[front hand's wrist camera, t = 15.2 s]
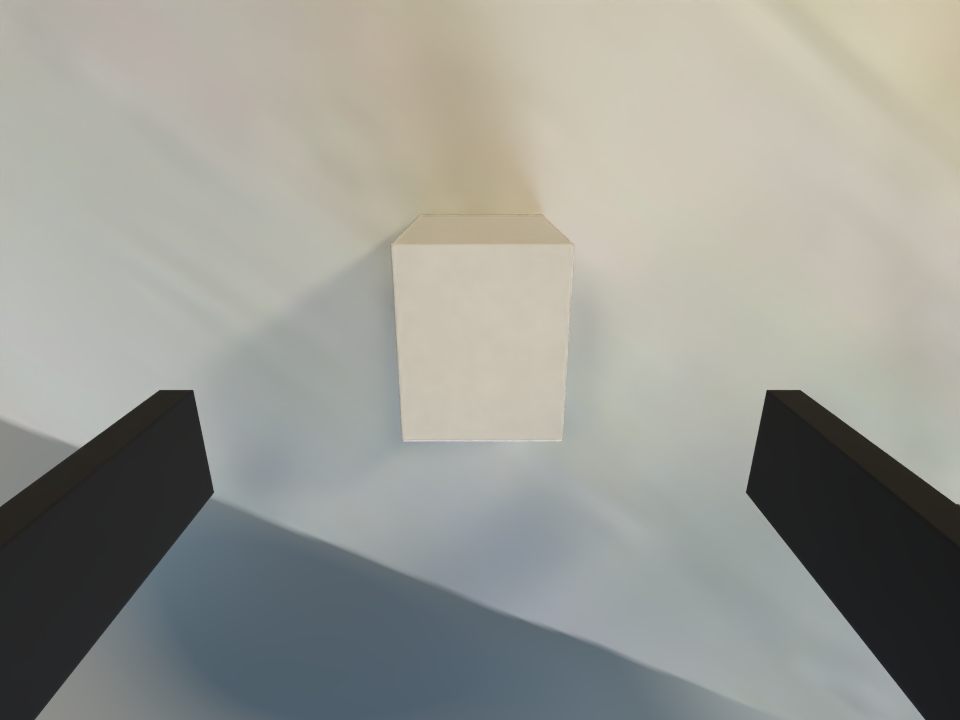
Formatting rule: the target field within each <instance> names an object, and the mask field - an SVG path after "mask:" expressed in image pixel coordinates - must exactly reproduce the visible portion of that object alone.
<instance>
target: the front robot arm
mask: <svg viewBox="0 0 960 720" xmlns="http://www.w3.org/2000/svg"><path fill="white" fill-rule="evenodd" d="M213 493H214V490H213V485H212V480H211V475H210V471H209V466H208V461H207V456H206V451H205V446H204V441H203V436H202V431H201V426H200V421H199V416H198V411H197V406H196V402H195V397H194V392H193V390H159V391H158V392H156V393H155V394H154V395H152V396H151V397H150V398H148V399H147V400H146V401H144V402H143V403H141V404H140V405H139V406H137V407H136V408H135V409H133V410H132V411H131V412H129V413H128V414H126V415H125V416H124V417H122V418H121V419H120V420H118V421H117V422H116V423H114V424H113V425H111V426H110V427H109V428H107V429H106V430H105V431H103V432H102V433H101V434H99V435H98V436H96V437H95V438H94V439H92V440H91V441H90V442H88V443H87V444H85V445H84V446H83V447H81V448H80V449H79V450H77V451H76V452H75V453H73V454H72V455H71V456H69V457H68V458H66V459H65V460H64V461H62V462H61V463H60V464H58V465H57V466H56V467H54V468H53V469H51V470H50V471H49V472H47V473H46V474H45V475H43V476H42V477H40V478H39V479H38V480H36V481H35V482H34V483H32V484H31V485H30V486H28V487H27V488H25V489H24V490H23V491H21V492H20V493H19V494H17V495H16V496H15V497H13V498H12V499H10V500H9V501H8V502H6V503H5V504H4V505H2V506H1V507H0V720H35V719H36V717H37V716H38V715H39V714H40V712H41V711H42V710H43V709H44V707H45V706H46V705H47V703H48V702H49V701H50V700H51V698H52V697H53V696H54V695H55V693H56V692H57V691H58V689H59V688H60V687H61V686H62V684H63V683H64V682H65V681H66V679H67V678H68V677H69V675H70V674H71V673H72V672H73V670H74V669H75V668H76V667H77V665H78V664H79V663H80V662H81V660H82V659H83V658H84V657H85V655H86V654H87V653H88V651H89V650H90V649H91V648H92V646H93V645H94V644H95V643H96V641H97V640H98V639H99V637H100V636H101V635H102V634H103V632H104V631H105V630H106V629H107V627H108V626H109V625H110V624H111V622H112V621H113V620H114V619H115V617H116V616H117V615H118V613H119V612H120V611H121V610H122V608H123V607H124V606H125V605H126V603H127V602H128V601H129V600H130V598H131V597H132V596H133V594H134V593H135V592H136V591H137V589H138V588H139V587H140V586H141V584H142V583H143V582H144V581H145V579H146V578H147V577H148V575H149V574H150V573H151V572H152V570H153V569H154V568H155V567H156V565H157V564H158V563H159V562H160V560H161V559H162V558H163V556H164V555H165V554H166V553H167V551H168V550H169V549H170V548H171V546H172V545H173V544H174V543H175V541H176V540H177V539H178V537H179V536H180V535H181V534H182V532H183V531H184V530H185V529H186V527H187V526H188V525H189V524H190V522H191V521H192V520H193V518H194V517H195V516H196V515H197V513H198V512H199V511H200V510H201V508H202V507H203V506H204V504H205V503H206V502H207V501H208V499H209V498H210V497H211V496H212V494H213ZM746 493H747V494H748V496H749V497H750V498H751V499H752V501H753V502H754V503H755V505H756V506H757V507H758V508H759V510H760V511H761V512H762V513H763V515H764V516H765V517H766V518H767V520H768V521H769V522H770V524H771V525H772V526H773V527H774V529H775V530H776V531H777V532H778V534H779V535H780V536H781V537H782V539H783V540H784V541H785V543H786V544H787V545H788V546H789V548H790V549H791V550H792V551H793V553H794V554H795V555H796V556H797V558H798V559H799V560H800V562H801V563H802V564H803V565H804V567H805V568H806V569H807V570H808V572H809V573H810V574H811V575H812V577H813V578H814V579H815V581H816V582H817V583H818V584H819V586H820V587H821V588H822V589H823V591H824V592H825V593H826V594H827V596H828V597H829V598H830V600H831V601H832V602H833V603H834V605H835V606H836V607H837V608H838V610H839V611H840V612H841V613H842V615H843V616H844V617H845V619H846V620H847V621H848V622H849V624H850V625H851V626H852V627H853V629H854V630H855V631H856V632H857V634H858V635H859V636H860V638H861V639H862V640H863V641H864V643H865V644H866V645H867V646H868V648H869V649H870V650H871V651H872V653H873V654H874V655H875V657H876V658H877V659H878V660H879V662H880V663H881V664H882V665H883V667H884V668H885V669H886V670H887V672H888V673H889V674H890V676H891V677H892V678H893V679H894V681H895V682H896V683H897V684H898V686H899V687H900V688H901V690H902V691H903V692H904V693H905V695H906V696H907V697H908V698H909V700H910V701H911V702H912V703H913V705H914V706H915V707H916V709H917V710H918V711H919V712H920V714H921V715H922V716H923V717H924V719H925V720H960V505H959V504H955V503H954V502H952V501H951V500H950V499H948V498H947V497H946V496H944V495H943V494H941V493H940V492H939V491H937V490H936V489H935V488H933V487H932V486H930V485H929V484H928V483H926V482H925V481H924V480H922V479H921V478H920V477H918V476H917V475H915V474H914V473H913V472H911V471H910V470H909V469H907V468H906V467H905V466H903V465H902V464H900V463H899V462H898V461H896V460H895V459H894V458H892V457H891V456H890V455H888V454H887V453H885V452H884V451H883V450H881V449H880V448H879V447H877V446H876V445H875V444H873V443H872V442H870V441H869V440H868V439H866V438H865V437H864V436H862V435H861V434H859V433H858V432H857V431H855V430H854V429H853V428H851V427H850V426H849V425H847V424H846V423H844V422H843V421H842V420H840V419H839V418H838V417H836V416H835V415H834V414H832V413H831V412H829V411H828V410H827V409H825V408H824V407H823V406H821V405H820V404H819V403H817V402H816V401H814V400H813V399H812V398H810V397H809V396H808V395H806V394H805V393H804V392H802V391H801V390H767V392H766V397H765V402H764V406H763V411H762V416H761V421H760V426H759V431H758V436H757V441H756V446H755V451H754V456H753V461H752V466H751V471H750V475H749V480H748V485H747V490H746Z"/></svg>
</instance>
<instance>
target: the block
mask: <svg viewBox="0 0 960 720" xmlns="http://www.w3.org/2000/svg"><path fill="white" fill-rule="evenodd" d="M573 258H574V244H573V243H572V242H571V241H570V240H569V239H568V238H567V237H566V236H565V235H564V234H563V233H562V232H560V231H559V230H558V229H557V228H556V227H555V226H554V225H553V224H552V223H551V222H550V221H549V220H548V219H547V218H546V217H545V216H544V215H419V216H418V217H417V218H416V219H415V220H414V221H413V222H412V223H411V225H410V226H409V227H408V228H407V229H406V230H405V231H404V232H403V233H402V234H401V235H400V236H399V237H398V238H397V239H396V240H395V241H394V242H393V243H392V244H391V259H392V276H393V293H394V310H395V327H396V344H397V361H398V378H399V395H400V412H401V430H402V441H562V440H563V425H564V408H565V392H566V375H567V358H568V342H569V325H570V308H571V291H572V275H573Z"/></svg>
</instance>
